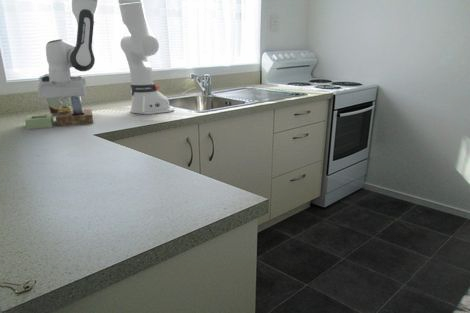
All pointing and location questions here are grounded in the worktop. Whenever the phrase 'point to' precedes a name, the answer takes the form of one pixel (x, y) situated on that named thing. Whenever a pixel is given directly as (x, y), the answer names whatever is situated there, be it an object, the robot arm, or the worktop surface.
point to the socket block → (74, 118)
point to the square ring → (39, 121)
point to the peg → (76, 105)
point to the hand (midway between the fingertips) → (64, 107)
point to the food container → (55, 104)
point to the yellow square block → (64, 109)
